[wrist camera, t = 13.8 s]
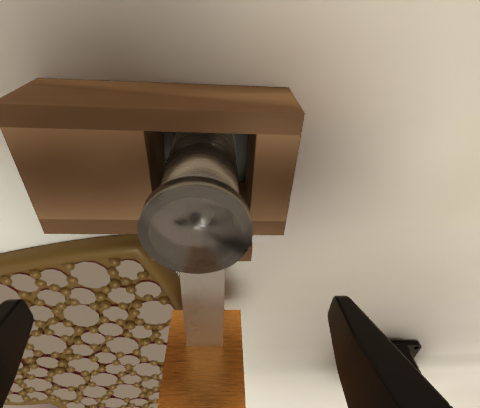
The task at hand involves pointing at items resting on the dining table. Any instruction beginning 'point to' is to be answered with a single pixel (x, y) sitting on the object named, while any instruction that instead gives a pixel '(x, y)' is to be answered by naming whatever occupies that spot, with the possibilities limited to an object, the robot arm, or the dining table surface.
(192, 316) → the bar
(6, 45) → the dining table surface
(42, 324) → the decorative heart
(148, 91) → the dock block
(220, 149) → the peg
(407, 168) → the dining table surface
